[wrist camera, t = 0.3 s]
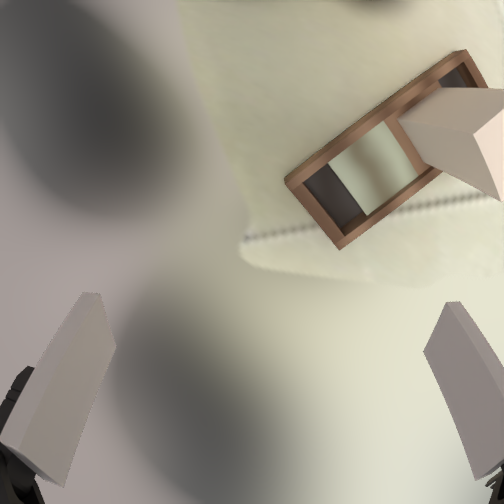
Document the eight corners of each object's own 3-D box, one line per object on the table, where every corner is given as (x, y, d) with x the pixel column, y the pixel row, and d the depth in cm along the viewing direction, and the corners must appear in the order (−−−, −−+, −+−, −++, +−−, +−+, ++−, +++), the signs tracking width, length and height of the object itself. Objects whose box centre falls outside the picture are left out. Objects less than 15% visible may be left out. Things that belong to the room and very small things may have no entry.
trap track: (453, 51, 26) (466, 49, 24) (490, 117, 29) (504, 120, 27) (283, 178, 36) (284, 184, 33) (334, 239, 39) (339, 250, 36)
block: (438, 88, 27) (524, 90, 14) (462, 130, 29) (548, 156, 16) (396, 118, 30) (473, 134, 16) (423, 162, 31) (501, 202, 18)
